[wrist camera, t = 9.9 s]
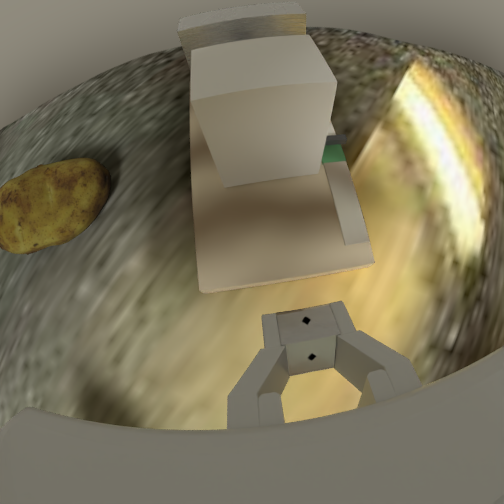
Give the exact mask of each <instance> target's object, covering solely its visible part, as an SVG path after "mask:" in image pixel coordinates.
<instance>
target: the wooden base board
mask: <svg viewBox="0 0 504 504" xmlns="http://www.w3.org/2000/svg"><path fill="white" fill-rule="evenodd" d="M190 90H191V82H190ZM329 135H336V133H335V130H334V128H333V125H332V123H331V120H330V123H329V128H328V133H327V136H329ZM190 156H191V183H192V203H193V220H194V234H195V247H196V259H197V270H198V281H199V291H201V292H203V293H212V292H220V291H227V290H234V289H241V288H248V287H254V286H261V285H267V284H274V283H280V282H286V281H293V280H299V279H305V278H311V277H316V276H322V275H328V274H334V273H339V272H345V271H350V270H356V269H361V268H366V267H369V266H371V265H372V264H373V263H375V261H374V257H373V252H372V248H371V244H370V240H369V236H368V232H367V228H366V225H365V221H364V217H363V214H362V210H361V207H360V203H359V200H358V197H357V193H356V190H355V187H354V184H353V181H352V178H351V175H350V172H349V169H348V166H347V163H346V158H345V156H344V153H343V150H342V147H341V145H340V144H336V145H325V147H324V151H323V156H322V160H321V165H320V169H319V173H318V174H312V175H304V176H297V177H289V178H282V179H275V180H269V181H262V182H256V183H250V184H244V185H238V186H232V187H227V188H224V186H223V183H222V180H221V178H220V175H219V173H218V170H217V168H216V165H215V163H214V160H213V158H212V155H211V152H210V150H209V147H208V145H207V142H206V140H205V137H204V135H203V132H202V129H201V127H200V124H199V122H198V119H197V117H196V114H195V112H194V109H193V106H192V104H191V101H190Z"/></svg>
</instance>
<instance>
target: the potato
mask: <svg viewBox="0 0 504 504" xmlns="http://www.w3.org/2000/svg"><path fill="white" fill-rule="evenodd" d="M110 189H111V175H110V173H109V171H108V170H107V169H106V168H105V167H104V166H103V165H102V164H101V163H99V162H98V161H96V160H95V159H91V158H76V159H69V160H64V161H60V162H55V163H51V164H47V165H42V164H41V165H38V166H37V167H35V168H32V169H30V170H28V171H26V172H25V173H23V174H22V175H20V176H18V177H16V178H13V179H11V180H9V181H8V182H6V183H5V184H4V185H3V186H2V187H1V188H0V247H1V248H2V249H4V250H6V251H8V252H11V253H15V254H27V255H28V254H31V253H34V252H37V251H39V250H42V249H44V248H46V247H48V246H52V245H60V244H64V243H67V242H69V241H70V240H72V239H73V238H75V237H76V236H78V235H79V234H81V233H82V232H83V231H84V230H85V229H87V227H88V226H89V225H90V224H91V223H92V222H93V221H94V220H95V218H96V217H97V215H98V214H99V212H100V210H101V209H102V207H103V206H104V204H105V202H106V201H107V199H108V197H109V194H110Z"/></svg>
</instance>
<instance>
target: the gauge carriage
mask: <svg viewBox="0 0 504 504" xmlns="http://www.w3.org/2000/svg"><path fill="white" fill-rule="evenodd" d="M336 87H337V80H336V79H335V77H334V75H333V73H332V71H331V70H330V68H329V66H328V64H327V63H326V61H325V59H324V58H323V56H322V54H321V53H320V51H319V49H318V48H317V46H316V45H315V43H314V41H313V40H312V38H311V37H310V35H289V36H275V37H265V38H256V39H248V40H241V41H234V42H228V43H223V44H218V45H213V46H208V47H203V48H199V49H195V50H191V90H190V101H191V104H192V106H193V109H194V112H195V114H196V117H197V119H198V122H199V124H200V127H201V129H202V132H203V135H204V137H205V140H206V142H207V145H208V147H209V150H210V152H211V155H212V158H213V160H214V163H215V165H216V168H217V170H218V173H219V175H220V178H221V180H222V183H223V186H224V188H227V187H232V186H238V185H244V184H250V183H256V182H262V181H269V180H275V179H282V178H289V177H297V176H304V175H312V174H318V173H319V169H320V165H321V160H322V156H323V151H324V147H325V145H336V144H346V141H347V138H346V135H345V134H343V135H329V136H327V133H328V128H329V123H330V118H331V113H332V108H333V103H334V98H335V93H336Z"/></svg>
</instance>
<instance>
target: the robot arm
mask: <svg viewBox="0 0 504 504" xmlns="http://www.w3.org/2000/svg"><path fill="white" fill-rule="evenodd" d="M262 327H263V336H264V346H265V349H260V351H259V352H258V354H257V355H256V357H255V358H254V360H253V361H252V363H251V364H250V365H249V367H248V368H247V370H246V371H245V373H244V374H243V376H242V377H241V378H240V380H239V381H238V383H237V384H236V385H235V387H234V388H233V390H232V391H231V392H230V394H229V395H228V406H227V429H221V430H166V429H149V428H137V427H128V426H119V425H112V424H105V423H99V422H93V421H88V420H82V419H77V418H73V417H68V416H64V415H60V414H56V413H52V412H48V411H45V410H41V409H38V408H34V407H26V408H25V409H23V410H22V411H20V412H19V413H17V414H16V415H15V416H14V417H13V418H11V419H10V420H9V421H8V422H7V423H6V424H5V425H4V426H3V427H2V429H1V430H0V504H504V346H502V347H501V348H499V349H497V350H496V351H494V352H492V353H491V354H489V355H487V356H485V357H484V358H482V359H480V360H478V361H476V362H474V363H472V364H471V365H469V366H467V367H465V368H463V369H461V370H459V371H457V372H455V373H452V374H450V375H448V376H446V377H444V378H441V379H439V380H437V381H435V382H432V383H430V384H427V385H425V386H422V384H421V382H420V380H419V378H418V376H417V374H416V372H415V370H414V368H413V366H412V364H411V362H410V360H409V359H408V358H406V357H404V356H403V355H401V354H399V353H397V352H396V351H394V350H392V349H391V348H389V347H387V346H386V345H384V344H382V343H381V342H379V341H377V340H376V339H374V338H372V337H371V336H369V335H367V334H366V333H364V332H362V331H361V330H359V331H356V329H355V327H354V325H353V322H352V320H351V318H350V316H349V314H348V311H347V309H346V307H345V305H344V303H343V302H342V301H338V302H333V303H329V304H325V305H320V306H314V307H309V308H304V309H298V310H292V311H285V312H278V313H273V314H265V315H262ZM329 368H334V369H335V370H337V371H338V372H339V373H340V374H341V375H342V376H343V377H345V378H346V379H347V380H348V381H349V382H350V383H351V384H353V385H354V386H355V387H356V388H357V389H358V390H359V391H361V392H362V395H361V398H360V401H359V404H358V407H357V408H356V409H353V410H349V411H345V412H341V413H337V414H332V415H328V416H323V417H318V418H313V419H308V420H303V421H297V422H291V423H285V420H284V414H283V408H282V402H281V394H282V392H283V390H284V388H285V386H286V384H287V382H288V380H289V378H290V377H289V376H293V375H298V374H303V373H308V372H312V371H318V370H324V369H329Z"/></svg>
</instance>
